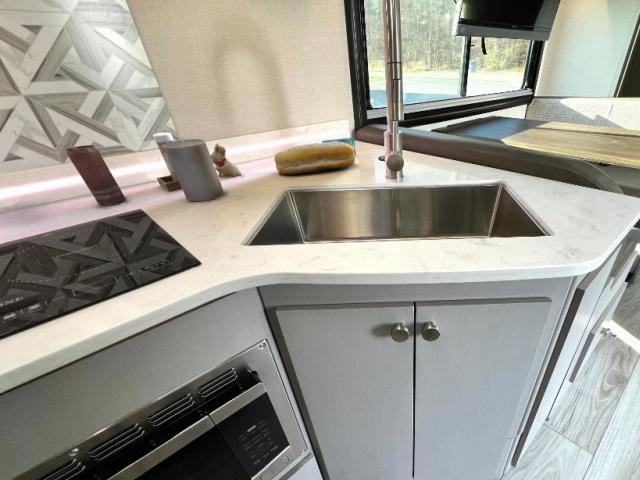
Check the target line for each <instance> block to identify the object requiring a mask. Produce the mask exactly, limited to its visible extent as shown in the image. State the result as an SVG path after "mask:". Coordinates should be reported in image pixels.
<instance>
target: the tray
mask: <svg viewBox="0 0 640 480" xmlns="http://www.w3.org/2000/svg"><path fill="white" fill-rule="evenodd" d="M156 180H157V182H158V184H159V186H160V187H161V188H163V189H164V190H166V191H167V192H169V193H171V192H174V191H180V190H182V187H181V185H180V183H179V181H175V182H174V180H173V178H172V176H171V174H169V175H165V176H161V177H160V176H159V177H156Z"/></svg>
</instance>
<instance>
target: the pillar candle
mask: <svg viewBox="0 0 640 480" xmlns="http://www.w3.org/2000/svg"><path fill="white" fill-rule="evenodd" d="M162 147H164V150H165V152H166V154H167V156H168V159H169V161H170V163H171V165H172V168H173V170H174V172H175V174H176V176H177V179H178V181H179V183H180V185H181V187H182V189H181V190H182V192H183V194H184V196H185V198H186V200H187V201H189V202H206V201H211V200H215V199H217V198H220V197H221V196H222V195H224V193H225V191H224V189H223V185H222V184H221V180H220V178H219V177H220V176H219V173H218V171H217V170H216V167H215V164H214V163H213V161H212V159H211V156H210V155H211V154H210V151H209V149H208V145H207V143H206V141H205V139H201V138H188V139H185V138H184V136H182V139H180V140H173V142H169V143H166V144H164V145H162Z"/></svg>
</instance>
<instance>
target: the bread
mask: <svg viewBox="0 0 640 480" xmlns="http://www.w3.org/2000/svg"><path fill="white" fill-rule="evenodd" d="M355 161H356V155H354V149H353V148H352V146H350V145H349V144H347V143H343V142H327V143H324V142H323V143H322V142H315V143H308V144H307V143H306V144H302V145H296V146H292V147H290V148H288V149H287V148H286V149H284V150H281V151H279V152H277V153H276V154H275V155H274V163H275V169H276V170H277V172H279V173H280V174H282V175H285V176H290V175H300V174H306V173H314V172H315V173H316V172H329V171H335V170H343V169H347V168H350V167H351V166H353V165H354V164H355Z"/></svg>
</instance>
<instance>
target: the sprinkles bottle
mask: <svg viewBox="0 0 640 480" xmlns="http://www.w3.org/2000/svg"><path fill="white" fill-rule="evenodd" d="M152 138H153V140H154V142H155V143H156V145H157V147H158V150H159V151H160V154H161V156H162V158H163V160H164V163H165V165H166V167H167V169H168V172H169V173H170V175H171V176H172V178H173V180H174V182H175V181H178V179H177V176H176V174H175V172H174V170H173V168H172V165H171V163H170V161H169V159H168V156H167V154H166V152H165V150H164V147H162V145H164V144H166V143H169V142H173V141H174V138H173V135H172V133H171V132H158V133H154V134H152Z"/></svg>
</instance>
